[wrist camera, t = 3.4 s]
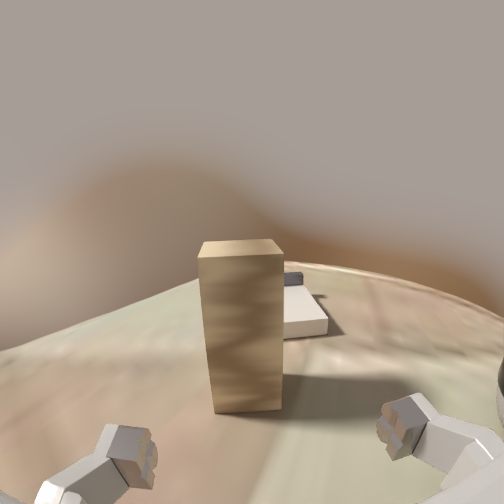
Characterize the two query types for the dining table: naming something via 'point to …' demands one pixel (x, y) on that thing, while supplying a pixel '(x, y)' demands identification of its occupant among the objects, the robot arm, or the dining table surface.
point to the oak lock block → (243, 323)
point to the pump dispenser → (501, 393)
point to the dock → (301, 310)
